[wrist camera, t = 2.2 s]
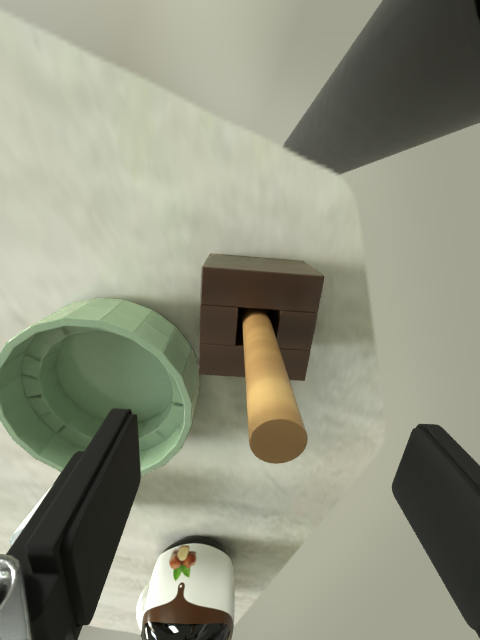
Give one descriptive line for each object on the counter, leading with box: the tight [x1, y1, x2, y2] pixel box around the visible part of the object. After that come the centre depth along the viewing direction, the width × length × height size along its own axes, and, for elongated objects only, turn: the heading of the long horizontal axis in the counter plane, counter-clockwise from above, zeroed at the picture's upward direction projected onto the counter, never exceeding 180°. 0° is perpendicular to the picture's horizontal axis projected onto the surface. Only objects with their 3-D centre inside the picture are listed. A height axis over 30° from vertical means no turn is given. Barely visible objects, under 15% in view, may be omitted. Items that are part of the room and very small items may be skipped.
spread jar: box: [136, 536, 235, 640], centre depth 32 cm, size 12×11×12 cm
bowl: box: [0, 298, 199, 476], centre depth 24 cm, size 15×15×6 cm
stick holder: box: [198, 254, 324, 381], centre depth 22 cm, size 8×8×6 cm
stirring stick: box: [241, 307, 307, 463], centre depth 17 cm, size 2×2×16 cm
